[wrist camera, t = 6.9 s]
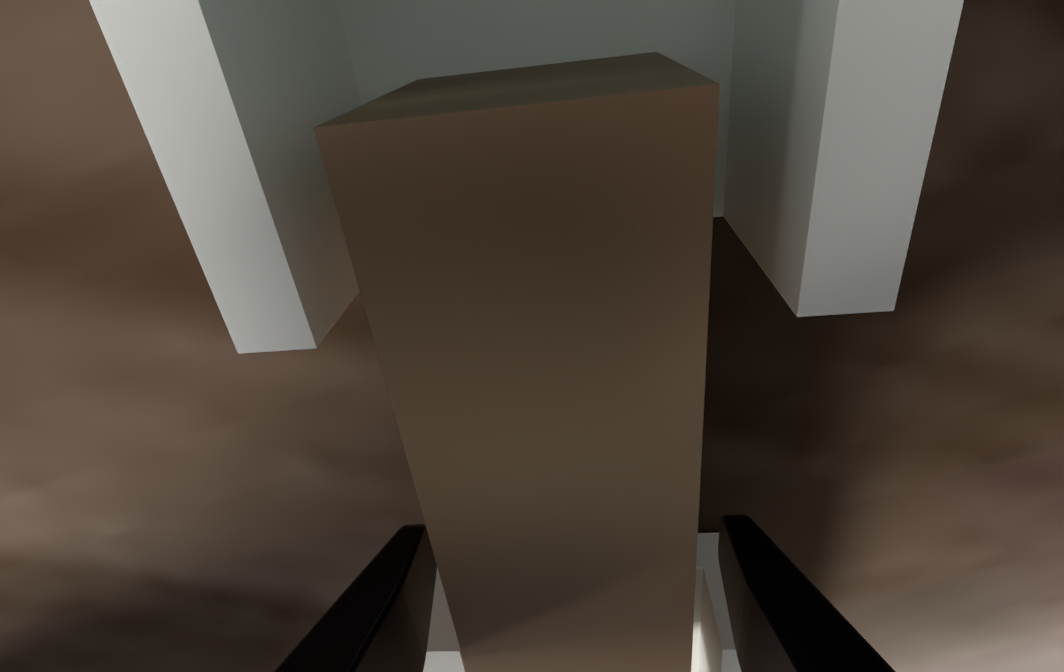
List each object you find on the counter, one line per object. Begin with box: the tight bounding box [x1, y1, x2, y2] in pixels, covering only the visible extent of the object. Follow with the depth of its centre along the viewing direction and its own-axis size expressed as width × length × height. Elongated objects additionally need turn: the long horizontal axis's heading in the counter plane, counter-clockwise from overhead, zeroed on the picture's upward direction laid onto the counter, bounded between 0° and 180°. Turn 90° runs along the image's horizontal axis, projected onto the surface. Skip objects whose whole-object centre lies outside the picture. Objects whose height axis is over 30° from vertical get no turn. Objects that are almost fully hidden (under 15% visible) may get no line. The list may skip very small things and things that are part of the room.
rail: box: [314, 52, 720, 672], centre depth 10 cm, size 14×4×4 cm, turn 6°
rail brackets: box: [89, 0, 964, 672], centre depth 10 cm, size 20×8×6 cm, turn 6°
